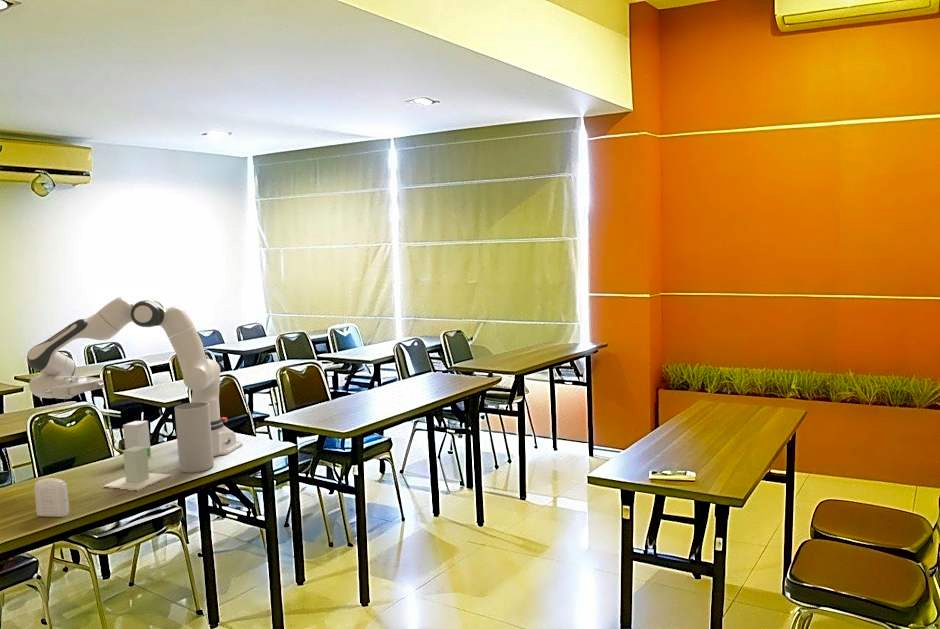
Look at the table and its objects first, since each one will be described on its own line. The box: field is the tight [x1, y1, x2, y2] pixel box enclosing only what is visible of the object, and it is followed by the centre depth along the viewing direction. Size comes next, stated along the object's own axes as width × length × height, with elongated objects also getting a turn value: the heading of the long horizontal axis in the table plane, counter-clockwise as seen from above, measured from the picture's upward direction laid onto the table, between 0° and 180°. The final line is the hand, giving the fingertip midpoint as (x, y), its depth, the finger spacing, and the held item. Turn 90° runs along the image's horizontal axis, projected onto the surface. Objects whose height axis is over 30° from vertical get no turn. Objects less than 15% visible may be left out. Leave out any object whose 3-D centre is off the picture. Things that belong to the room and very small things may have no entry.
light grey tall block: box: [122, 447, 150, 483], centre depth 269 cm, size 6×6×12 cm
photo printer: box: [34, 477, 70, 518], centre depth 238 cm, size 10×4×12 cm, turn 81°
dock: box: [103, 472, 171, 492], centre depth 270 cm, size 16×16×7 cm
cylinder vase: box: [174, 402, 215, 474], centre depth 283 cm, size 12×12×25 cm
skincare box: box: [122, 420, 152, 459], centre depth 299 cm, size 8×7×16 cm
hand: (92, 388), depth 278 cm, fingers open, 8 cm apart
